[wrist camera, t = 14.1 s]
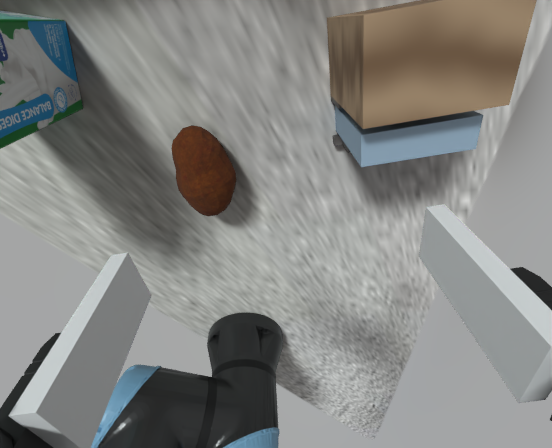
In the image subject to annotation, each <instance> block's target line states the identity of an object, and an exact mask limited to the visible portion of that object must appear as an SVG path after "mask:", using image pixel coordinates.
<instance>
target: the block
mask: <svg viewBox="0 0 552 448" xmlns="http://www.w3.org/2000/svg"><path fill="white" fill-rule="evenodd" d="M482 118H483V115H482V114H480V113H477V112H475V111H468V112H462V113H456V114H450V115H444V116H438V117H432V118H426V119H420V120H414V121H408V122H402V123H396V124H390V125H384V126H378V127H372V128H366V129H363V128H362V127H361V126H360V125H359V124H358V123H357V122H356V121H355V120H354V119H353V118H352V117H351V116H350V115H349V114H348V113H347V112H346V111H345V110H344V109H343V108H337V107H336V106H335V120H336V132H337V133H338V134H339V136H340V137H341V139H342V140H343V142H344V143H345V144H346V146H347V147H348V149H349V150H350V152H351V153H352V155H353V156H354V157H355V159H356V160H357V162H358V163H359V165H360V166H361V167H366V166H372V165H378V164H384V163H391V162H397V161H403V160H409V159H415V158H422V157H428V156H434V155H440V154H446V153H453V152H459V151H465V150H471V149H476V145H477V141H478V136H479V132H480V127H481V123H482Z"/></svg>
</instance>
